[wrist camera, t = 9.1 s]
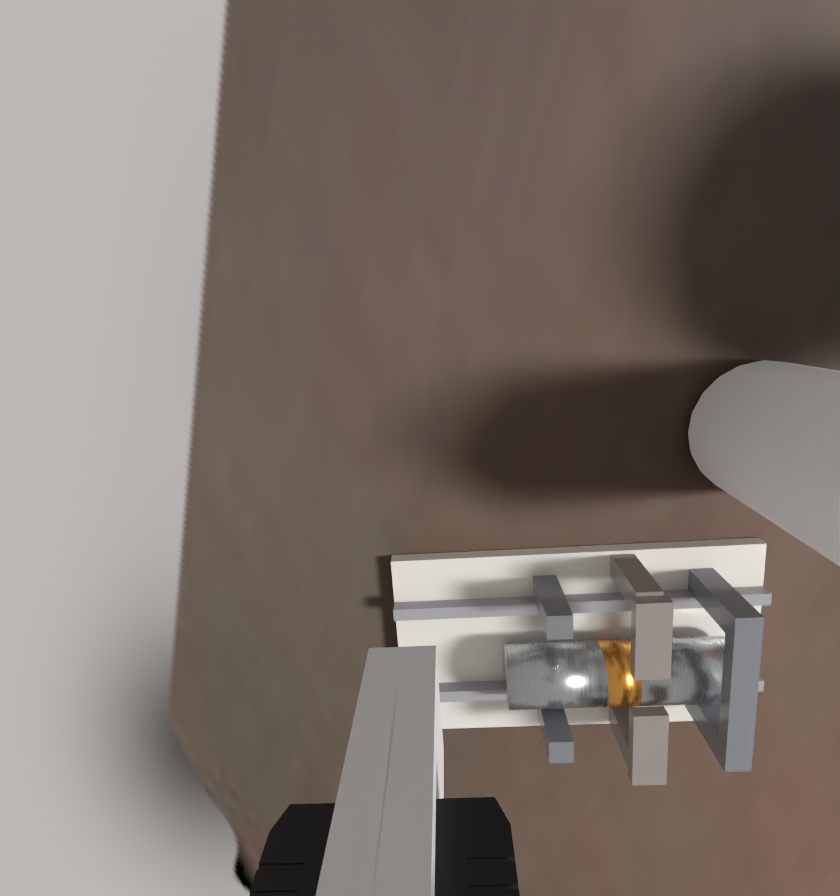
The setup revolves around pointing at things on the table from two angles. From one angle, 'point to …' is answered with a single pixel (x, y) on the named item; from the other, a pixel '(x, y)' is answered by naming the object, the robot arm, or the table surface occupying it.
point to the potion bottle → (776, 446)
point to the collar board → (592, 634)
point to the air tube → (608, 674)
